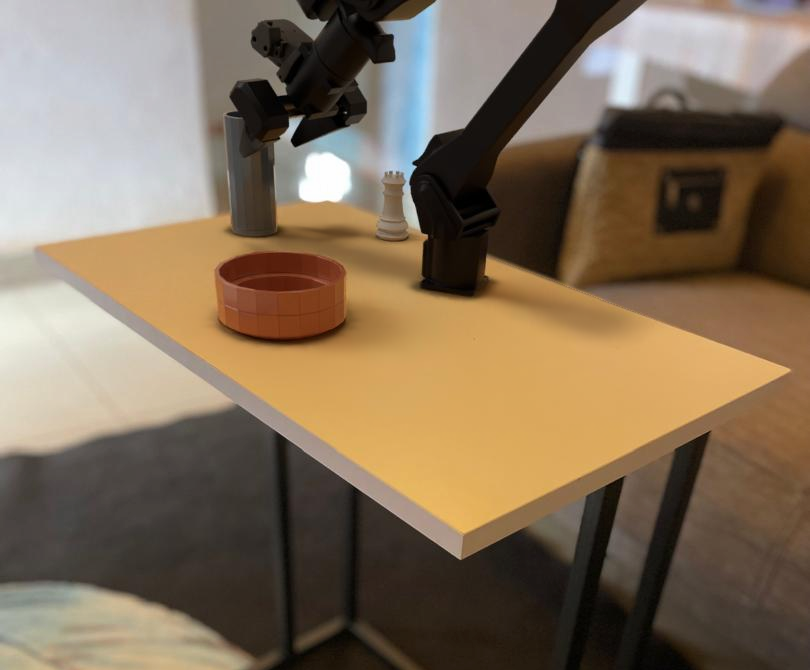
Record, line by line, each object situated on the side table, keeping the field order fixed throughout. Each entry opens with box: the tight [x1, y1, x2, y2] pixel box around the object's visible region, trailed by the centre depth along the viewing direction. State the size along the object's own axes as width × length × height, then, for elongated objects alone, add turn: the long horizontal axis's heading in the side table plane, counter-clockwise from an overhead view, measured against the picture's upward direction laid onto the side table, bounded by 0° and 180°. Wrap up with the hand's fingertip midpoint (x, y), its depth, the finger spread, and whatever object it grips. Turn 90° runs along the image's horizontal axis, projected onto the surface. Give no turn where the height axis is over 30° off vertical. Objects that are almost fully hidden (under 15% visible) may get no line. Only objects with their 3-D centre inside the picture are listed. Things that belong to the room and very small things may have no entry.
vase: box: [222, 110, 278, 238], centre depth 108 cm, size 6×6×14 cm
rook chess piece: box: [375, 170, 410, 242], centre depth 110 cm, size 4×4×8 cm
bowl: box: [213, 250, 348, 341], centre depth 85 cm, size 13×13×5 cm
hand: (268, 149), depth 104 cm, fingers open, 9 cm apart
